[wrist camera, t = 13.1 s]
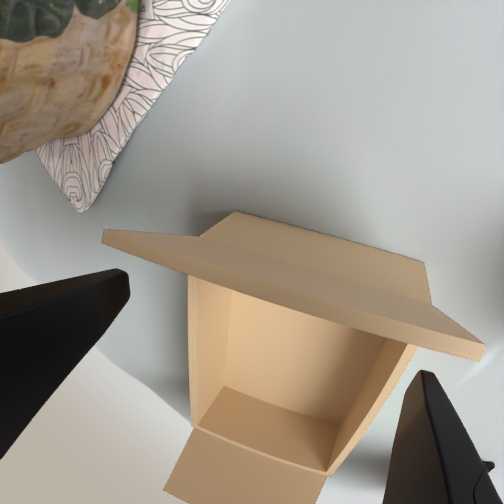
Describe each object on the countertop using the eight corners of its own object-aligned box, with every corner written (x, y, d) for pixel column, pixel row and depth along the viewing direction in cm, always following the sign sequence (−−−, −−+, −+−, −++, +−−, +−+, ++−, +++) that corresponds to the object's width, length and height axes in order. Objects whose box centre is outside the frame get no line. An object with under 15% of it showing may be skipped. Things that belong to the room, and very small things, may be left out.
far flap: (327, 475, 22) (326, 475, 22) (194, 427, 25) (195, 427, 26) (295, 543, 18) (295, 541, 18) (162, 490, 22) (164, 489, 22)
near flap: (193, 244, 17) (195, 235, 17) (428, 314, 13) (431, 304, 13) (101, 242, 10) (104, 228, 10) (479, 361, 7) (485, 345, 7)
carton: (345, 425, 27) (330, 476, 22) (220, 382, 30) (191, 425, 25) (424, 262, 18) (433, 315, 13) (235, 210, 22) (188, 243, 17)
